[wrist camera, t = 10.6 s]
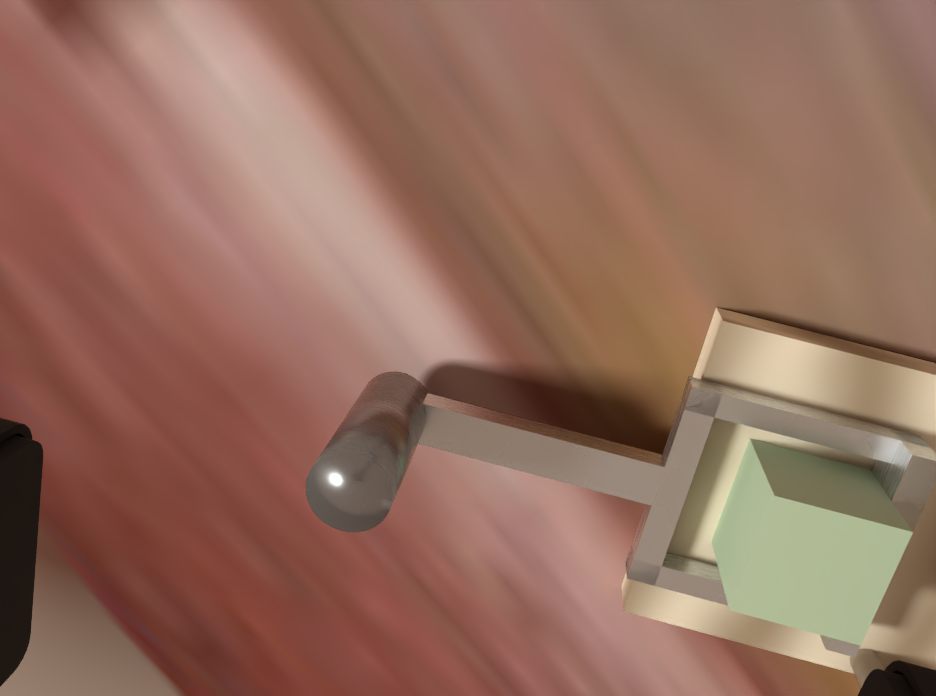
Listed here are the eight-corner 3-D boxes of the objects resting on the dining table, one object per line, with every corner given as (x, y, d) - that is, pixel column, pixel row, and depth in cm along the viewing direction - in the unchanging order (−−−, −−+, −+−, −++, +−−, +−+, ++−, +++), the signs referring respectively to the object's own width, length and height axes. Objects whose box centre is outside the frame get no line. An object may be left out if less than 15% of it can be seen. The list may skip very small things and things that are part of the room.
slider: (343, 487, 39) (285, 590, 32) (382, 297, 36) (328, 361, 28) (838, 620, 38) (900, 759, 31) (920, 435, 35) (1012, 540, 28)
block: (749, 438, 36) (774, 495, 31) (869, 469, 36) (913, 532, 31) (711, 541, 38) (729, 610, 33) (826, 571, 38) (860, 645, 33)
